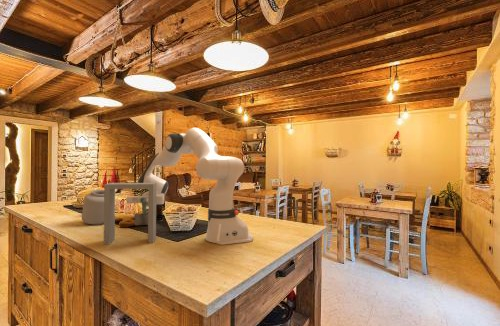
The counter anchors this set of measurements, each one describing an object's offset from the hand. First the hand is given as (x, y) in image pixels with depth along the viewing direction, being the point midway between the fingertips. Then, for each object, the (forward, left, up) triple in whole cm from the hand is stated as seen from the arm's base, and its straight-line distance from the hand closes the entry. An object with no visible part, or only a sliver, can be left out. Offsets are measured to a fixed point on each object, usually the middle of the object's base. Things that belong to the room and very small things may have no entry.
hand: (142, 199), depth 136 cm
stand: (-1, +24, -15) cm, 28 cm away
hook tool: (0, -4, -6) cm, 8 cm away
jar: (+26, -13, -15) cm, 33 cm away
